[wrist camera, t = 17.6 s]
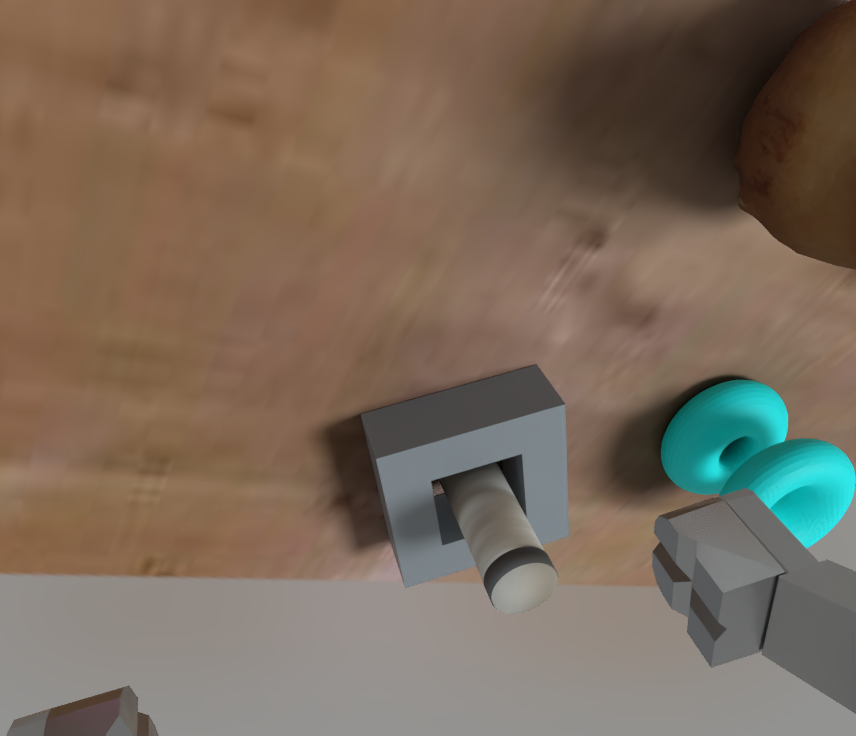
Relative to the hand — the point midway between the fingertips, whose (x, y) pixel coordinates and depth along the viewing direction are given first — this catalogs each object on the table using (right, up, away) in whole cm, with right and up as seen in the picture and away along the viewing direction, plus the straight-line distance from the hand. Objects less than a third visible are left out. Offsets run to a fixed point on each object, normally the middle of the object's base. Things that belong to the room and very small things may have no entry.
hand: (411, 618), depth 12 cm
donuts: (+22, -1, +47) cm, 52 cm away
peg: (+2, -2, +41) cm, 42 cm away
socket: (+2, -2, +41) cm, 42 cm away
